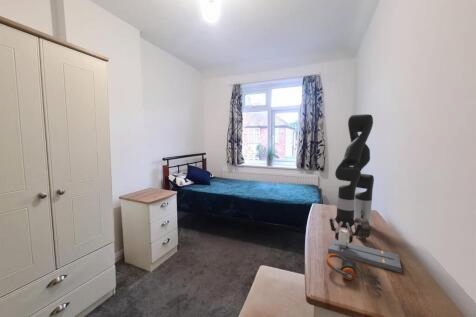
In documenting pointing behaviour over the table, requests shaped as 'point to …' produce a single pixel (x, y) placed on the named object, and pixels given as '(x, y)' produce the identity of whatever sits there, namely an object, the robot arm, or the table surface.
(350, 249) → the console
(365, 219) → the alarm clock
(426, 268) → the table surface
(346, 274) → the headphones
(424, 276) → the table surface
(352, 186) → the robot arm
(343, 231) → the fader
